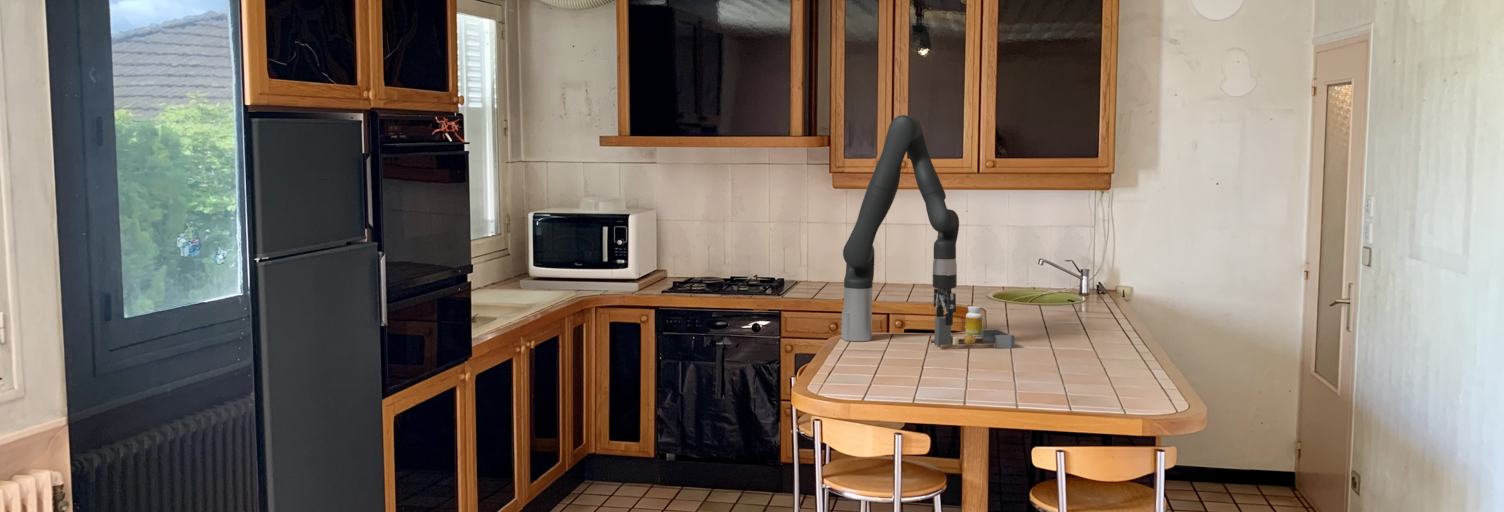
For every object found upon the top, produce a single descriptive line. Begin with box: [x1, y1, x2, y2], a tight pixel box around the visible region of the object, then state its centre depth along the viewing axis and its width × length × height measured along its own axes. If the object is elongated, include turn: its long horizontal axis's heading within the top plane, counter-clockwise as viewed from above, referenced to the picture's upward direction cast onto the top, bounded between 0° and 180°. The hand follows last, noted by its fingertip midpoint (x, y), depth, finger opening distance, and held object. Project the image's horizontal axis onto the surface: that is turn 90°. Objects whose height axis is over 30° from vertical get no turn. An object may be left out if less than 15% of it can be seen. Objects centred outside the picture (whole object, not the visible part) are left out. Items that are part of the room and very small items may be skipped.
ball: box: [963, 334, 976, 344], centre depth 370 cm, size 4×4×4 cm
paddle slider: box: [933, 316, 959, 347], centre depth 368 cm, size 6×7×9 cm
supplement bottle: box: [964, 305, 983, 338], centre depth 388 cm, size 5×5×10 cm
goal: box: [981, 328, 1016, 350], centre depth 371 cm, size 6×13×4 cm, turn 9°
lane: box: [929, 337, 995, 350], centre depth 369 cm, size 17×11×1 cm, turn 99°
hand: (944, 323), depth 368 cm, fingers open, 8 cm apart
